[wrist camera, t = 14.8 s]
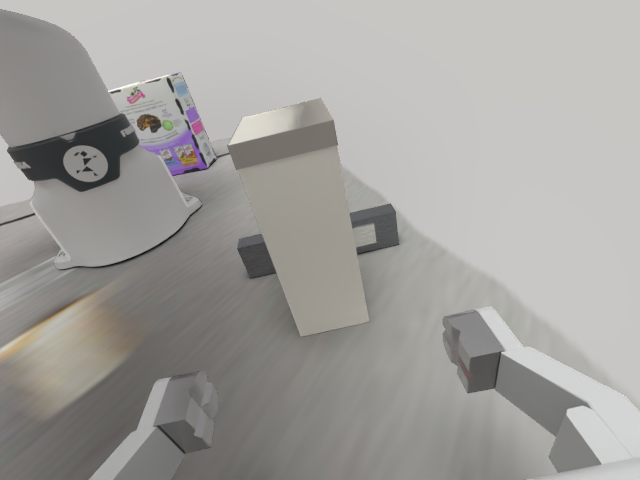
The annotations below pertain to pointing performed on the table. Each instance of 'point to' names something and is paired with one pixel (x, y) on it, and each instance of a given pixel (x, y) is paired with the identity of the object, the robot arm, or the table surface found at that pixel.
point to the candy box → (166, 122)
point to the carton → (303, 212)
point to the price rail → (368, 230)
